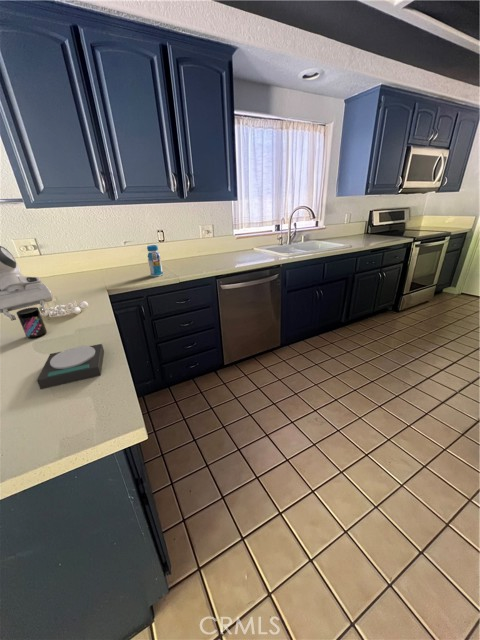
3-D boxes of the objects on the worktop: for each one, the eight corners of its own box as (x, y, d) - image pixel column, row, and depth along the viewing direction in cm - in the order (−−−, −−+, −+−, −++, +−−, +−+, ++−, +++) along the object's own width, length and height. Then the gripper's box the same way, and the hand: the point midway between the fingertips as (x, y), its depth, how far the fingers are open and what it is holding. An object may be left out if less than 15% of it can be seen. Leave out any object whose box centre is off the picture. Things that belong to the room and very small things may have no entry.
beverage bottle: (148, 276, 182) (142, 246, 174) (155, 273, 189) (150, 244, 181) (159, 276, 179) (153, 246, 171) (165, 273, 187) (161, 244, 178)
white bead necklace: (33, 322, 118) (29, 314, 116) (55, 308, 131) (51, 300, 129) (74, 320, 116) (70, 312, 114) (92, 306, 129) (89, 298, 127)
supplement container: (22, 339, 101) (11, 313, 96) (37, 331, 107) (27, 307, 102) (37, 339, 100) (27, 314, 95) (51, 331, 106) (42, 307, 101)
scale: (40, 389, 72) (35, 378, 70) (53, 361, 85) (49, 352, 83) (100, 375, 77) (97, 365, 75) (104, 351, 90) (101, 342, 88)
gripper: (-24, 288, 95) (-8, 320, 92) (43, 276, 108) (58, 303, 106) (-19, 298, 99) (-5, 328, 97) (44, 285, 113) (58, 311, 110)
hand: (28, 315), depth 101 cm, fingers open, 8 cm apart
